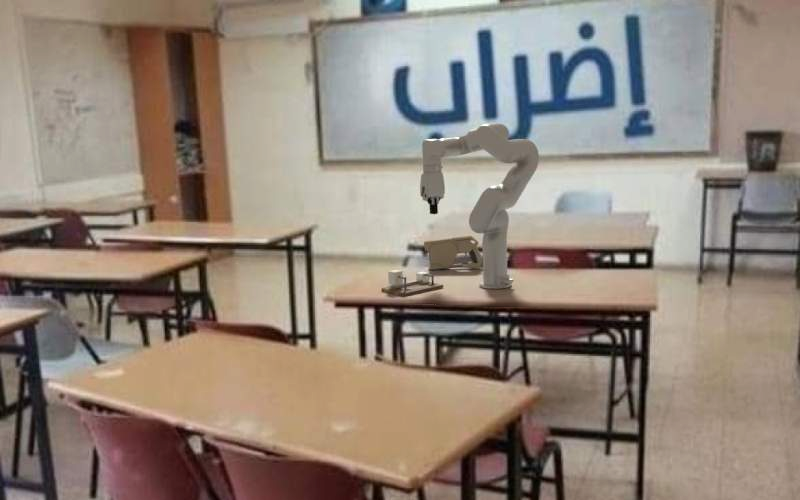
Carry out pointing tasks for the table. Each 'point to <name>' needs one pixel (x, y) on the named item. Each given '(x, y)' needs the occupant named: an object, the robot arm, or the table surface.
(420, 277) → the beam
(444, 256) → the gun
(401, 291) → the hole board
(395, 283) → the sliding leg
